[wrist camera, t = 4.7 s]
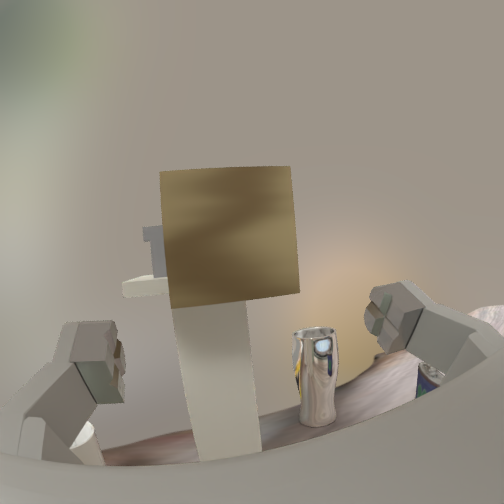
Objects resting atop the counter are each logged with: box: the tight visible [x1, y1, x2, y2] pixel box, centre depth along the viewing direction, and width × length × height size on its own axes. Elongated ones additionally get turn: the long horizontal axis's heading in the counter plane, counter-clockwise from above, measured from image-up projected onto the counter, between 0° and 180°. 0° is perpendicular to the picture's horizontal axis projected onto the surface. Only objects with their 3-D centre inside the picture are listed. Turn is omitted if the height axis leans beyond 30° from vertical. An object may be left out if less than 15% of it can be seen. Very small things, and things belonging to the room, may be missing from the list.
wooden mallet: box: [160, 166, 300, 309], centre depth 17 cm, size 5×13×5 cm, turn 14°
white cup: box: [70, 421, 106, 466], centre depth 23 cm, size 8×8×10 cm
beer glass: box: [292, 327, 339, 427], centre depth 43 cm, size 7×7×15 cm
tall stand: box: [122, 225, 262, 462], centre depth 26 cm, size 12×12×30 cm
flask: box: [415, 362, 444, 399], centre depth 33 cm, size 9×3×11 cm, turn 171°
